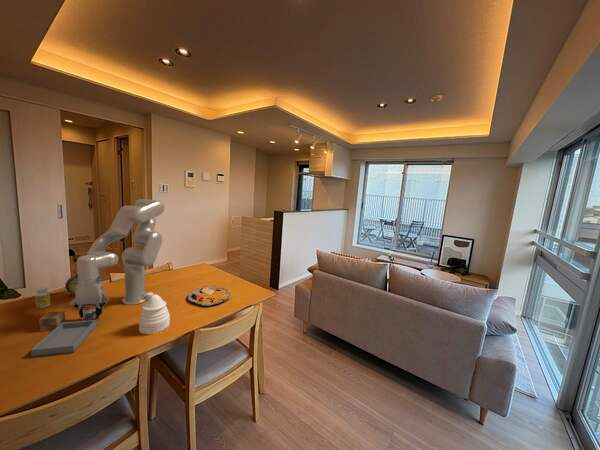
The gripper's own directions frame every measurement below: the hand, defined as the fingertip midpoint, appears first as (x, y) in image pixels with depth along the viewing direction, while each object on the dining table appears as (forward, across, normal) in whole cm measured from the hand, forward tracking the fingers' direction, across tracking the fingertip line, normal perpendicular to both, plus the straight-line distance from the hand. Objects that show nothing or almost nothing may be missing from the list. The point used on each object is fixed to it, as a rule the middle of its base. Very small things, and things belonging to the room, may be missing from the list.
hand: (91, 315), depth 117 cm
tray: (+3, +2, +15) cm, 15 cm away
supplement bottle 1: (+3, +29, -20) cm, 35 cm away
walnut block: (+3, +13, +3) cm, 14 cm away
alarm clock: (+3, +19, -32) cm, 37 cm away
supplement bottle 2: (+3, 0, 0) cm, 3 cm away
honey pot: (+3, -30, +11) cm, 32 cm away
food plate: (+3, -54, -17) cm, 57 cm away
